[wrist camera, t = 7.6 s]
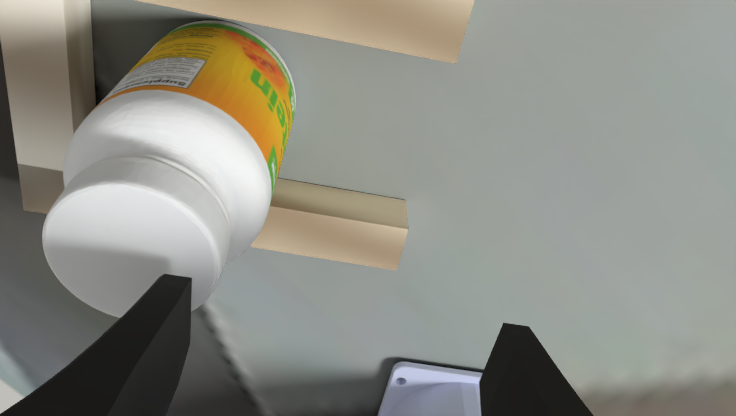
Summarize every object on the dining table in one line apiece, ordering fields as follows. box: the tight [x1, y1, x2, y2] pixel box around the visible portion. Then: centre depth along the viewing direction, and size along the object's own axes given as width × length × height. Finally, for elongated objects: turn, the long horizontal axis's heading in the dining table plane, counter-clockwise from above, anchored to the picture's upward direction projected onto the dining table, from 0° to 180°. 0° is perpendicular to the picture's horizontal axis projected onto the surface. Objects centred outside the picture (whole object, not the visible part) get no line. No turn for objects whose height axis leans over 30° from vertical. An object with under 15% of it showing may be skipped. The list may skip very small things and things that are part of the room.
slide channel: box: [0, 0, 474, 270], centre depth 21 cm, size 10×14×2 cm
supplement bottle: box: [42, 20, 296, 318], centre depth 18 cm, size 5×5×10 cm
